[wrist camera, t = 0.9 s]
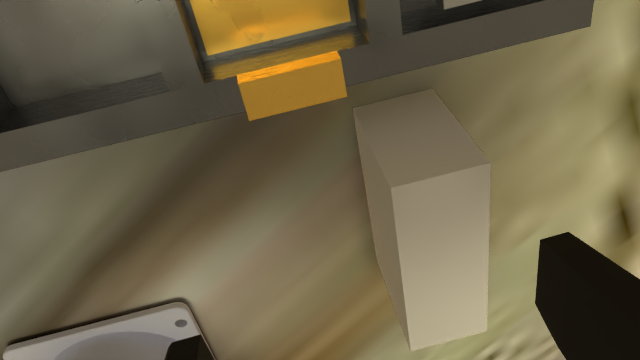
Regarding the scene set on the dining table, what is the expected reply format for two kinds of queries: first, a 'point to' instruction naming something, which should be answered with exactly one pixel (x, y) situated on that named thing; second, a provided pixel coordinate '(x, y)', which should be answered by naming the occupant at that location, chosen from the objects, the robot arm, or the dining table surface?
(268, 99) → the rack
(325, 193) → the dining table surface
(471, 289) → the tall cream block
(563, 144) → the dining table surface
